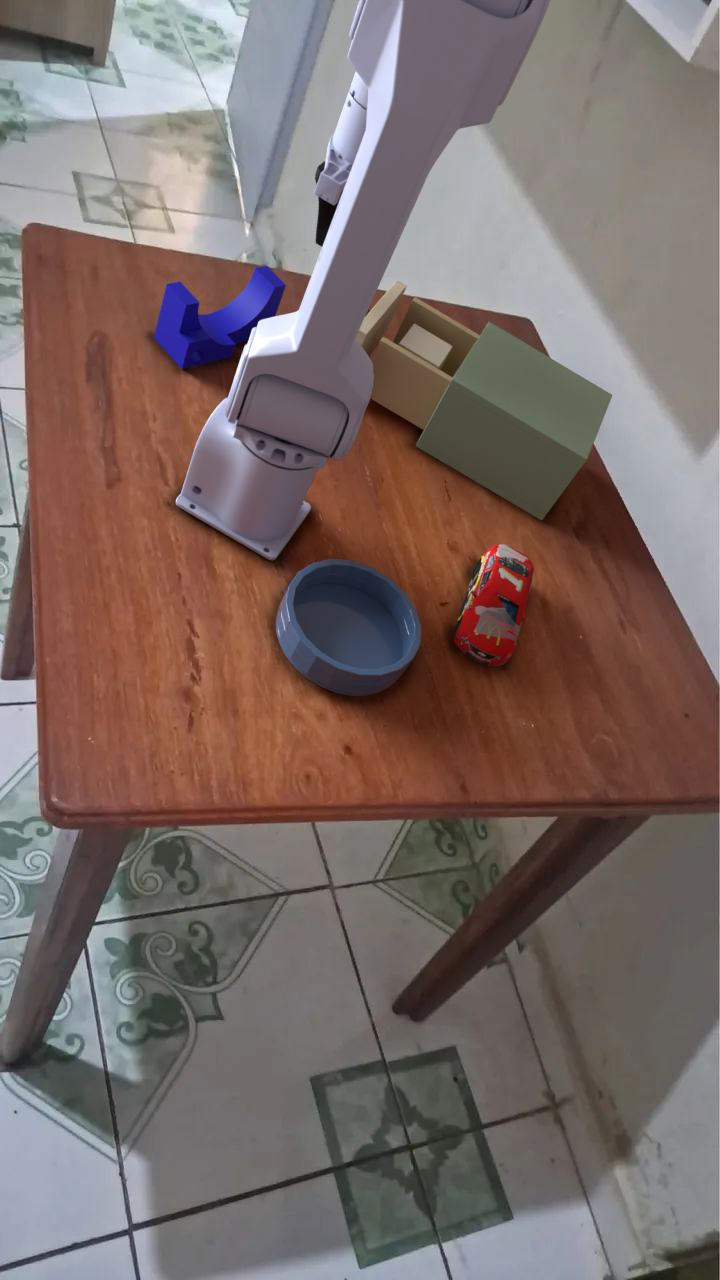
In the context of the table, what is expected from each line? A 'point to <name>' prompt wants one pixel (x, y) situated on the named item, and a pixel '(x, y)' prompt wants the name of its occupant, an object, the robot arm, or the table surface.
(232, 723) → the table surface
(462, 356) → the drawer
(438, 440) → the cabinet
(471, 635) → the race car
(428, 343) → the block
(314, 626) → the bowl
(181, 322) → the cable clip
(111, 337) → the table surface
